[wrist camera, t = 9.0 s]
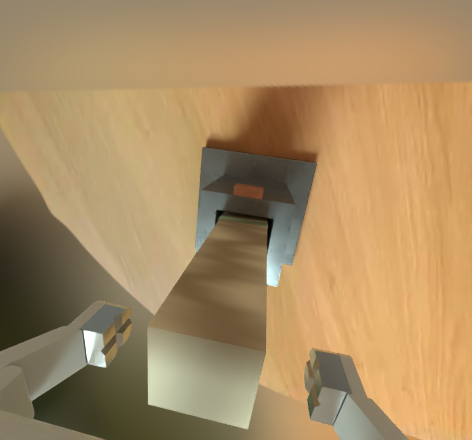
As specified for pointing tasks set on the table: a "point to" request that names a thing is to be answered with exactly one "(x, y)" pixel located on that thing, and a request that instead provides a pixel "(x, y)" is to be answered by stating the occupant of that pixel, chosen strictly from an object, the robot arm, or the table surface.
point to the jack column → (214, 327)
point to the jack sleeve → (256, 198)
